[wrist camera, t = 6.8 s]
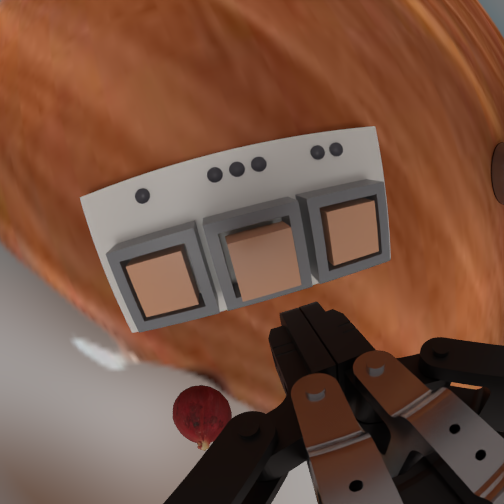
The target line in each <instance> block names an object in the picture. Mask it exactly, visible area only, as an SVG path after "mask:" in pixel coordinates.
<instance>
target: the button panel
mask: <svg viewBox="0 0 504 504" xmlns="http://www.w3.org/2000/svg"><path fill="white" fill-rule="evenodd" d="M358 198H366V199H370V200H374V202H375V211H376V221H377V232H378V246H379V251H378V252H375V253H372V254H369V255H366V256H363V257H360V258H357V259H353V260H350V261H347V262H344V263H341V264H338V265H333V264H331V263H330V262H329V261H328V260H327V254H326V247H325V240H324V233H323V227H322V220H321V214H320V207H324V206H328V205H332V204H337V203H341V202H345V201H349V200H354V199H358ZM80 200H81V204H82V207H83V210H84V214H85V217H86V220H87V223H88V226H89V230H90V233H91V235H92V238H93V241H94V244H95V247H96V250H97V252H98V255H99V258H100V261H101V263H102V266H103V268H104V271H105V273H106V276H107V278H108V281H109V283H110V286H111V288H112V290H113V293H114V295H115V297H116V299H117V302H118V304H119V306H120V308H121V311H122V313H123V315H124V317H125V319H126V321H127V323H128V325H129V327H130V329H131V331H132V333H134V332H138V331H139V332H144V331H148V330H152V329H157V328H161V327H166V326H170V325H174V324H178V323H182V322H186V321H190V320H194V319H198V318H202V317H206V316H210V315H214V314H218V313H220V312H221V311H224V310H228V311H229V310H233V309H237V308H240V307H244V306H248V305H251V304H255V303H258V302H262V301H265V300H269V299H272V298H276V297H279V296H282V295H286V294H289V293H293V292H296V291H299V290H302V289H306V288H309V287H312V286H313V285H314V284H318V283H320V284H322V283H325V282H328V281H331V280H334V279H337V278H340V277H343V276H346V275H349V274H352V273H355V272H358V271H361V270H364V269H367V268H370V267H373V266H376V265H379V264H381V263H384V262H387V261H390V259H391V255H390V235H389V221H388V209H387V199H386V190H385V182H384V175H383V168H382V161H381V155H380V149H379V144H378V138H377V133H376V128H375V126H372V127H361V128H351V129H343V130H335V131H327V132H320V133H313V134H307V135H300V136H294V137H289V138H283V139H278V140H272V141H267V142H262V143H257V144H253V145H248V146H244V147H239V148H235V149H230V150H226V151H222V152H218V153H214V154H210V155H206V156H203V157H199V158H195V159H192V160H188V161H184V162H181V163H177V164H174V165H171V166H167V167H164V168H161V169H158V170H155V171H151V172H148V173H145V174H142V175H139V176H136V177H133V178H131V179H128V180H125V181H122V182H119V183H117V184H114V185H111V186H108V187H106V188H103V189H100V190H98V191H95V192H93V193H90V194H88V195H85V196H83V197H80ZM280 221H283V222H285V223H286V224H287V225H289V226H290V227H291V230H292V235H293V240H294V245H295V251H296V256H297V262H298V267H299V273H300V279H301V285H300V286H296V287H293V288H290V289H286V290H283V291H280V292H276V293H273V294H269V295H266V296H262V297H259V298H255V299H252V300H248V301H244V302H243V300H242V297H241V293H240V290H239V286H238V282H237V279H236V275H235V272H234V268H233V264H232V261H231V257H230V253H229V250H228V246H227V242H226V238H225V236H227V235H231V234H235V233H238V232H242V231H246V230H250V229H253V228H257V227H261V226H265V225H269V224H272V223H276V222H280ZM179 244H184V247H185V251H186V254H187V257H188V260H189V263H190V266H191V269H192V272H193V275H194V278H195V281H196V284H197V287H198V290H199V304H198V305H194V306H190V307H186V308H182V309H178V310H174V311H170V312H166V313H162V314H158V315H154V316H150V317H146V315H145V313H144V310H143V308H142V306H141V303H140V301H139V299H138V296H137V294H136V292H135V289H134V287H133V284H132V282H131V279H130V277H129V274H128V272H127V269H126V266H127V264H128V263H129V262H130V260H131V259H132V258H134V257H138V256H141V255H144V254H148V253H151V252H155V251H158V250H162V249H165V248H169V247H172V246H176V245H179Z"/></svg>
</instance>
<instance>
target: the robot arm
mask: <svg viewBox="0 0 504 504" xmlns="http://www.w3.org/2000/svg"><path fill="white" fill-rule="evenodd" d="M492 182H493V188H494V192H495V195H496V197H497V200H498V201H499V202H500V203H501V204H503V205H504V142H501V143H500V144H498V146H497V147H496V149H495V152H494V156H493V162H492ZM280 320H281V325H282V326H280V327H277V328H274V329H271V331H270V335H269V343H270V347H271V351H272V355H273V359H274V363H275V367H276V370H277V372H278V375H279V377H280V380H281V383H282V385H283V388H284V390H285V393H286V398H285V399H284V401H283V402H282V403H281V404H280V405H279V406H278V407H277V408H275V409H274V410H272V411H270V412H269V413H267V414H265V413H262V412H257V411H250V412H244V413H241V414H239V415H237V416H235V417H234V418H232V419H231V420H230V421H229V422H228V423H227V424H226V426H225V427H224V428H223V430H222V431H221V433H220V434H219V435H218V437H217V438H216V439H215V441H214V442H213V443H212V445H211V446H210V447H209V449H208V450H207V451H206V452H205V454H204V455H203V456H202V458H201V459H200V460H199V461H198V463H197V464H196V465H195V467H194V468H193V469H192V470H191V471H190V473H189V474H188V475H187V477H186V478H185V479H184V480H183V481H182V482H181V484H180V485H179V486H178V487H177V488H176V490H175V491H174V492H173V493H172V494H171V495H170V496H169V498H168V499H167V500H166V501H165V502H164V503H163V504H271V503H272V501H273V499H274V498H275V496H276V494H277V493H278V491H279V489H280V487H281V486H282V484H283V482H284V480H285V478H286V477H287V475H288V472H289V471H290V470H292V469H294V468H295V467H297V466H298V465H300V464H301V463H303V462H304V461H307V465H308V468H309V472H310V475H311V479H312V482H313V486H314V490H315V495H316V498H317V502H318V504H504V346H502V345H493V344H485V343H478V342H470V341H463V340H456V339H450V338H443V337H437V338H432V339H430V340H428V341H426V342H425V343H424V344H423V345H422V347H421V351H420V354H416V355H412V356H407V357H402V358H395V357H394V356H393V355H391V354H390V353H388V352H385V351H379V350H375V349H374V348H373V346H372V345H371V344H370V343H369V342H368V341H367V340H366V339H365V337H364V336H363V335H362V334H361V333H360V332H359V331H358V330H357V329H356V328H355V326H354V325H353V324H352V323H350V321H349V320H348V318H347V317H346V316H345V315H344V314H343V313H340V312H338V311H336V310H334V309H332V310H329V311H326V312H325V310H324V309H323V308H322V307H321V306H320V304H319V303H318V302H314V303H311V304H307V305H304V306H301V307H299V308H295V309H292V310H289V311H285V312H282V313H280ZM451 382H455V383H461V384H468V385H474V386H481V387H482V388H480V389H477V390H474V389H468V388H461V387H455V386H450V384H451ZM499 431H500V432H499Z"/></svg>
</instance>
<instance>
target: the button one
mask: <svg viewBox="0 0 504 504" xmlns="http://www.w3.org/2000/svg"><path fill="white" fill-rule="evenodd" d="M126 269H127V272H128V274H129V277H130V279H131V282H132V284H133V287H134V289H135V292H136V294H137V296H138V299H139V301H140V303H141V306H142V308H143V310H144V313H145V315H146V317H150V316H154V315H158V314H162V313H166V312H170V311H174V310H178V309H182V308H186V307H190V306H194V305H198V304H199V290H198V287H197V284H196V281H195V278H194V275H193V272H192V269H191V266H190V263H189V260H188V257H187V254H186V251H185V247H184V244H179V245H176V246H172V247H169V248H165V249H162V250H158V251H155V252H151V253H148V254H144V255H141V256H138V257H134V258H132V259H131V260H130V262H129V263H128V264H127V266H126Z"/></svg>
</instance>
